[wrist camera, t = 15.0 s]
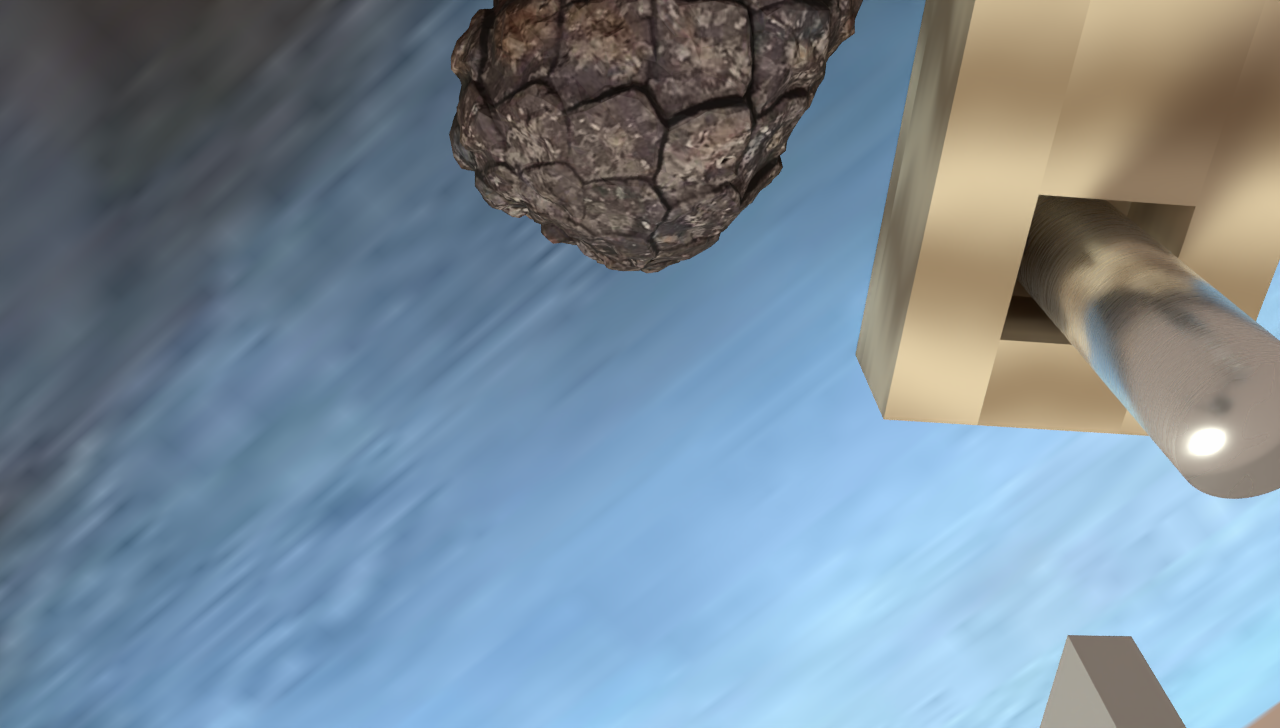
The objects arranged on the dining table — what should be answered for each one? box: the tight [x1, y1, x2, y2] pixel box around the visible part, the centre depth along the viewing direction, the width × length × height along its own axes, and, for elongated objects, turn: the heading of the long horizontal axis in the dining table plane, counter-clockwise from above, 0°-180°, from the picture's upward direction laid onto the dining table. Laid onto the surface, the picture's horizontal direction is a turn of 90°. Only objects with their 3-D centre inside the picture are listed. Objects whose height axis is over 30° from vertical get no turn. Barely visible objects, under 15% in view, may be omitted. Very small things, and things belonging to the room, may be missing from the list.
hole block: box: [856, 0, 1280, 436], centre depth 35 cm, size 24×12×5 cm, turn 175°
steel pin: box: [1016, 195, 1280, 499], centre depth 33 cm, size 4×4×14 cm
